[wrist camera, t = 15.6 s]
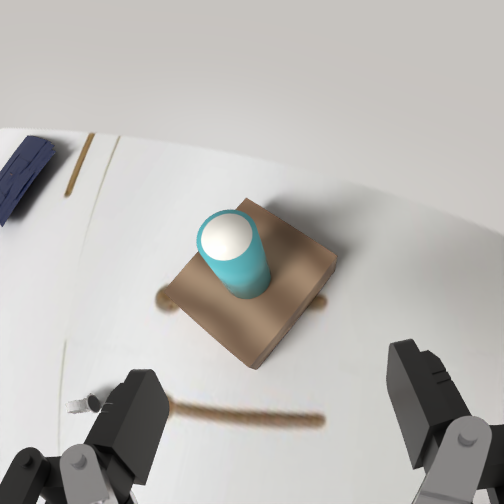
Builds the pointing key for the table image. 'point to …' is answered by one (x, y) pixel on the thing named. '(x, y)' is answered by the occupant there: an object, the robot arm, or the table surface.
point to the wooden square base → (265, 305)
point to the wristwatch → (83, 405)
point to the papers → (22, 172)
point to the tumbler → (235, 253)
